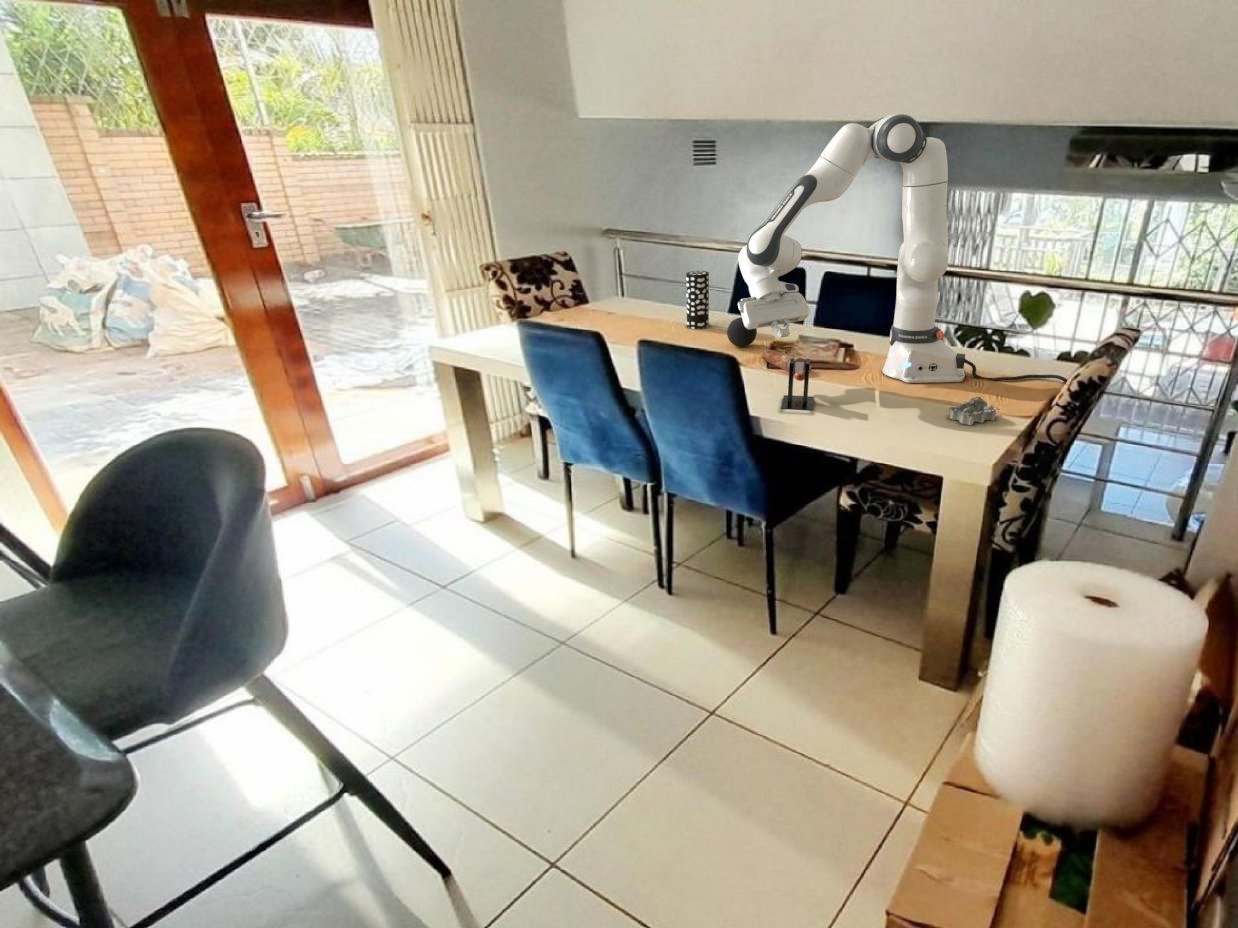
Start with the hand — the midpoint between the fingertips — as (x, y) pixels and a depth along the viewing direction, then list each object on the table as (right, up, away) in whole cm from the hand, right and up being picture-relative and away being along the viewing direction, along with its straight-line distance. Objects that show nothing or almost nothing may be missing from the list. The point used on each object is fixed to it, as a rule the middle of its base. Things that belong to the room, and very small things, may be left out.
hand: (784, 336), depth 199 cm
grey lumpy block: (+42, -25, -22) cm, 54 cm away
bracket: (+1, -21, -9) cm, 22 cm away
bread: (+4, -6, +21) cm, 22 cm away
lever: (+2, -13, -9) cm, 16 cm away
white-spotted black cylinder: (-17, +17, +71) cm, 75 cm away
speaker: (-5, +4, +44) cm, 44 cm away
